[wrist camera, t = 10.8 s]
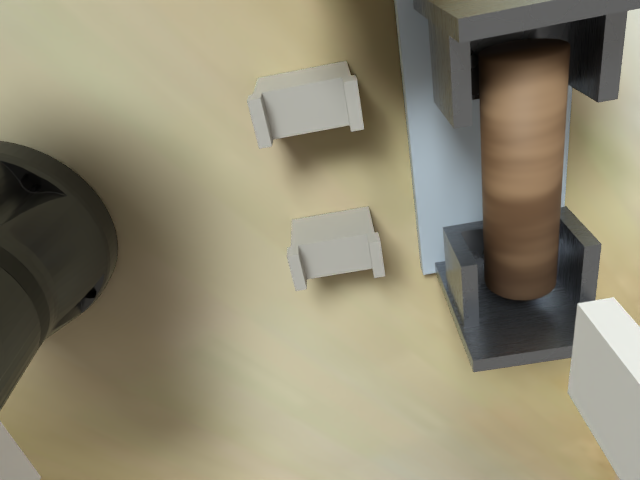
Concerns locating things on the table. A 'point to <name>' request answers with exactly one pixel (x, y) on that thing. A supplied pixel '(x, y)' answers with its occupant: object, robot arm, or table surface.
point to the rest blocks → (305, 117)
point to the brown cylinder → (522, 163)
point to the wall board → (440, 145)
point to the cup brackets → (574, 238)
